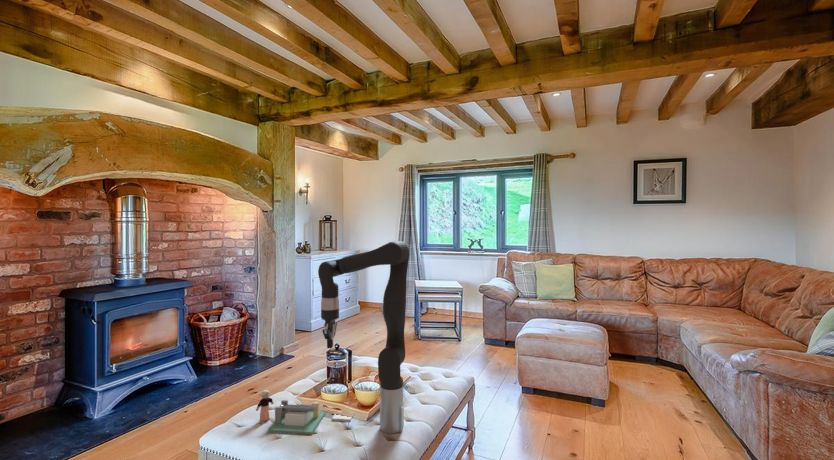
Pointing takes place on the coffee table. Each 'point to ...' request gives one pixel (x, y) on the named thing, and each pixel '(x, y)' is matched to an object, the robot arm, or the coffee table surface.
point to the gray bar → (298, 407)
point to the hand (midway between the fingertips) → (330, 347)
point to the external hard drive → (341, 418)
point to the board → (295, 428)
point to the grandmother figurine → (264, 406)
